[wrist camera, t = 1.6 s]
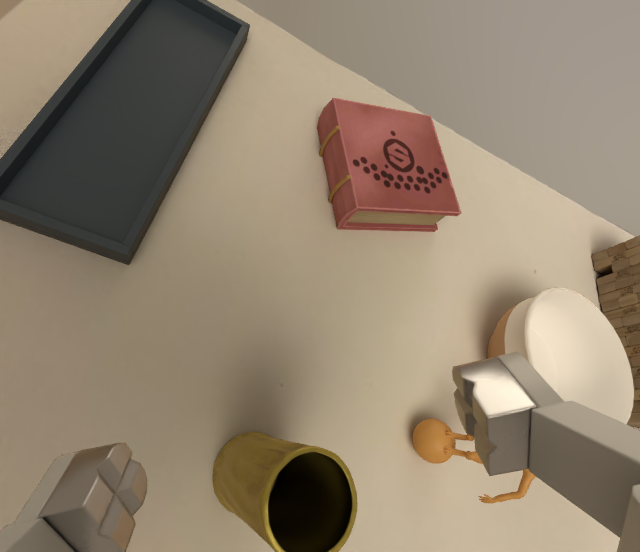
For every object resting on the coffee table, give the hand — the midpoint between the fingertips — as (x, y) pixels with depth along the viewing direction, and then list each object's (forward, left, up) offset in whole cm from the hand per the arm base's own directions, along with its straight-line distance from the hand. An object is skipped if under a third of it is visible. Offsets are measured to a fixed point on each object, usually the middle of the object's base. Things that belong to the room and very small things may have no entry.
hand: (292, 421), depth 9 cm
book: (+33, +11, -25) cm, 43 cm away
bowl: (+34, -19, -25) cm, 46 cm away
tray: (+12, +29, -25) cm, 41 cm away
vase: (+1, -6, -25) cm, 26 cm away
